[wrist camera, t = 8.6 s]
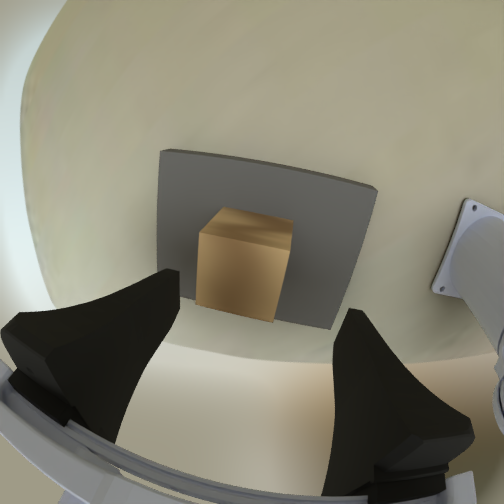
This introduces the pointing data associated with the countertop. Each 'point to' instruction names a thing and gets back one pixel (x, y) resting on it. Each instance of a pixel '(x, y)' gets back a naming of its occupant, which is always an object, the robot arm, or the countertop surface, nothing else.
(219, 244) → the oak cube
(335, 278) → the charcoal mat
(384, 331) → the countertop surface
